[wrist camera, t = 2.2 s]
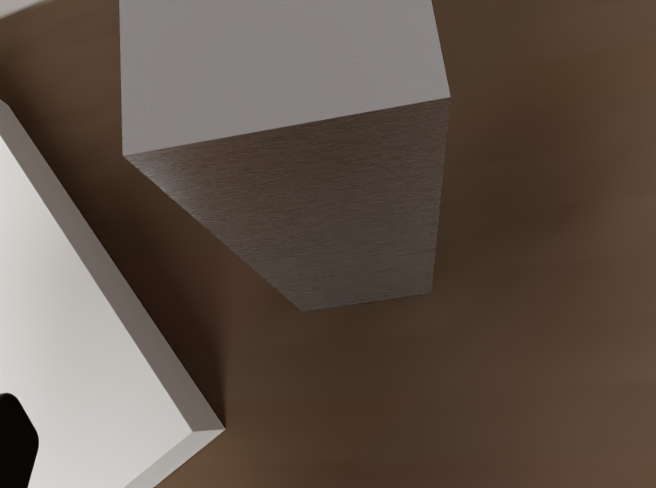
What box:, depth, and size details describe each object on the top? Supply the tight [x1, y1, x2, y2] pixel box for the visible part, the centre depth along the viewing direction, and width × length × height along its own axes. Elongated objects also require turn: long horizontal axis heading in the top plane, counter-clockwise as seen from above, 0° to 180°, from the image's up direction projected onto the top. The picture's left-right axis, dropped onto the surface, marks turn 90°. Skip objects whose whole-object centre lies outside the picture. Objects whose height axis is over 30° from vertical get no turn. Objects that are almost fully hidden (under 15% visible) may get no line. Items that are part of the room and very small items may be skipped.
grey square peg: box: [119, 0, 451, 312], centre depth 15 cm, size 4×4×13 cm
